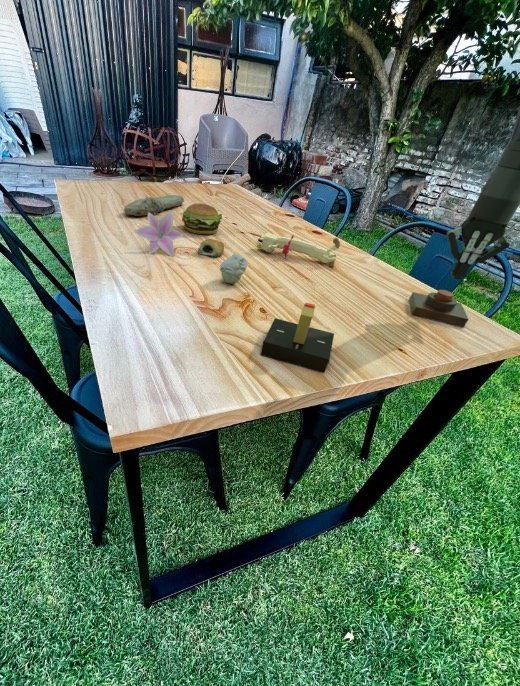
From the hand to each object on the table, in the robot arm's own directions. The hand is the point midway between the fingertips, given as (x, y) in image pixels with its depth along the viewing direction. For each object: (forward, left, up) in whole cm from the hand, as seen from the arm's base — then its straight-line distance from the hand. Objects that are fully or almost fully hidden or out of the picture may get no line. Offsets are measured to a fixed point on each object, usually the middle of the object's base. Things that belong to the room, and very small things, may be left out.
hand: (455, 278), depth 82 cm
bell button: (0, 0, -5) cm, 6 cm away
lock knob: (+30, +36, -6) cm, 47 cm away
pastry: (+63, -6, -9) cm, 64 cm away
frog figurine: (+51, +12, -9) cm, 53 cm away
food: (+74, -25, -9) cm, 79 cm away
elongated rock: (+98, -39, -9) cm, 106 cm away
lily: (+76, +2, -9) cm, 77 cm away
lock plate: (+30, +36, -9) cm, 48 cm away
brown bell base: (0, 0, -9) cm, 9 cm away
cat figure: (+40, -19, -9) cm, 45 cm away
